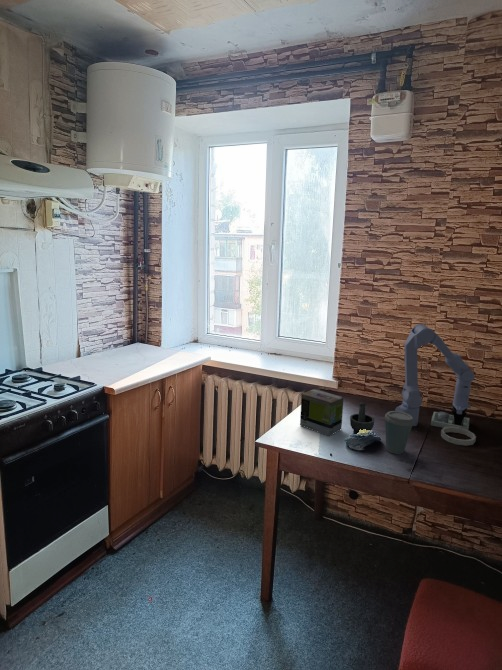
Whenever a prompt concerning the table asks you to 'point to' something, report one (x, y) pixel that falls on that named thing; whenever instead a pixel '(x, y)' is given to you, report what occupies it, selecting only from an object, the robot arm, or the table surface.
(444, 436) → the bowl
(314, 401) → the small aquarium
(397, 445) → the disposable coffee cup
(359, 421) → the mortar and pestle
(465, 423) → the parts tray
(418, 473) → the table surface
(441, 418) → the pebble
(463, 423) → the pebble
